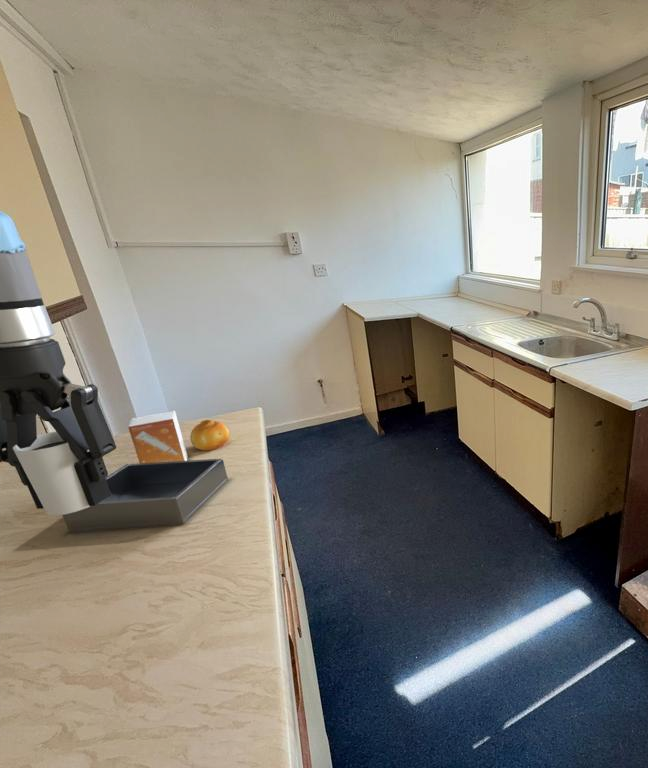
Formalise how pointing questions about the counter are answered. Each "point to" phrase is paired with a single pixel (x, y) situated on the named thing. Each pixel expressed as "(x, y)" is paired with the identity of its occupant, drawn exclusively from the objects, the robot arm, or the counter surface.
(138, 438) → the small box
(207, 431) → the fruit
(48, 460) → the white cup
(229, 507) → the counter surface
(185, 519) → the tray
